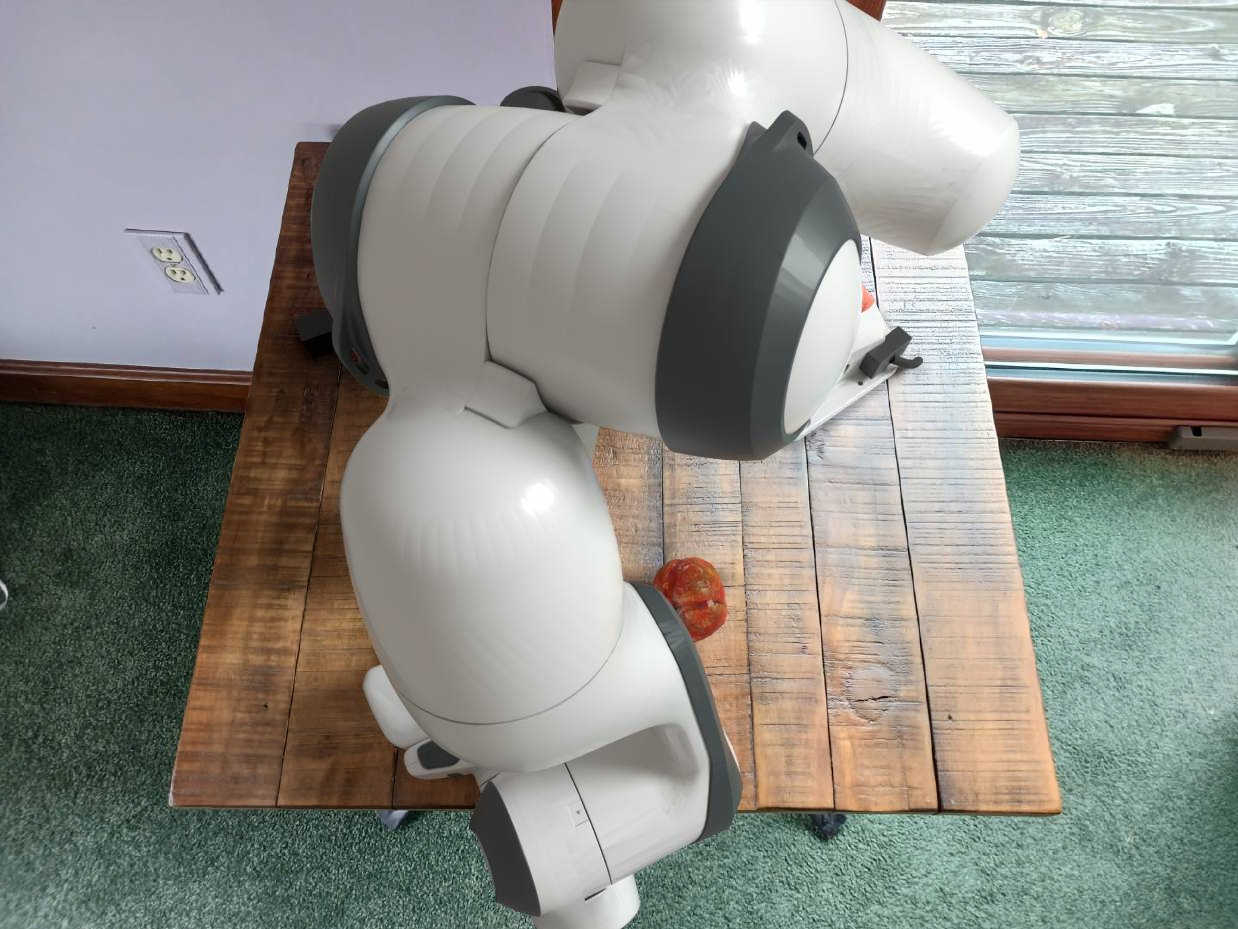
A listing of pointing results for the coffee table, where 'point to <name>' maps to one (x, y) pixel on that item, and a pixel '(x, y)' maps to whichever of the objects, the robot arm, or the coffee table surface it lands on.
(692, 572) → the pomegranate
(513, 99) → the coffee cup
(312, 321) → the bar
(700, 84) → the robot arm
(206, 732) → the coffee table surface
